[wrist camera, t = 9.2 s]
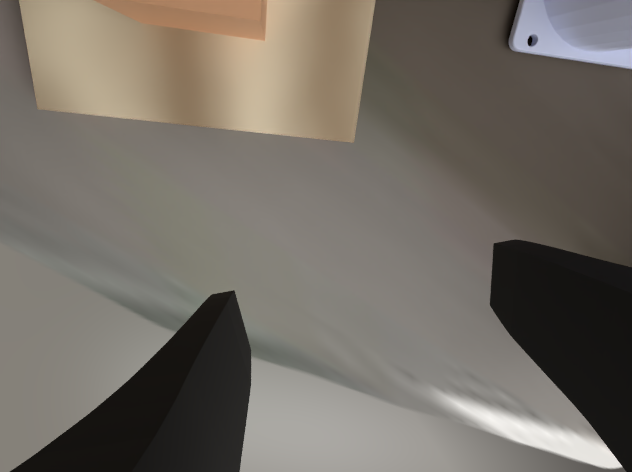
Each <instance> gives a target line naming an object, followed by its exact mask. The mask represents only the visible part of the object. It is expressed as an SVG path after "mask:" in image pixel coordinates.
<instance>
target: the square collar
mask: <svg viewBox="0 0 632 472" xmlns="http://www.w3.org/2000/svg"><path fill="white" fill-rule="evenodd" d="M94 1H96V2H98V3H100V4H102V5H104V6H107V7H109V8H111V9H113V10H115V11H117V12H119V13H121V14H123V15H125V16H128V17H130V18H132V19H134V20H136V21H138V22H140V23H144V24H151V25H158V26H165V27H172V28H179V29H186V30H192V31H199V32H206V33H213V34H220V35H227V36H234V37H241V38H248V39H255V40H262V41H265V33H266V15H267V0H94Z"/></svg>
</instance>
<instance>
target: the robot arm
mask: <svg viewBox="0 0 632 472" xmlns="http://www.w3.org/2000/svg"><path fill="white" fill-rule="evenodd" d="M529 36H531V37H532V44H531V45H530V46H528V43H527V41H528V38H529ZM509 47H510V48H511V50H513V51H516V52H522V53H529V54H536V55H542V56H549V57H555V58H562V59H568V60H575V61H581V62H588V63H594V64H601V65H607V66H614V67H620V68H627V69H632V0H520V2H519V5H518V9H517V12H516V16H515V19H514V23H513V26H512V30H511V33H510V37H509ZM490 306H491V308H492V309H493V311H494V312H495V314H496V315H497V317H498V318H499V320H500V321H501V323H502V324H503V326H504V327H505V328H506V330H507V331H508V332H509V334H510V335H511V336H512V337H513V339H514V340H515V341H516V342H517V343H518V344H519V345H520V346H521V348H522V349H523V350H524V351H525V352H526V353H527V354H528V355H529V356H530V358H531V359H532V360H533V361H534V362H535V363H536V364H537V365H538V366H539V367H540V368H541V370H542V371H543V372H544V373H545V374H546V375H547V376H548V377H549V378H550V379H551V380H552V381H553V383H554V384H555V385H556V386H557V387H558V388H559V389H560V390H561V391H562V392H563V393H564V394H565V396H566V397H567V398H568V399H569V400H570V401H571V402H572V403H573V404H574V405H575V407H576V408H577V409H578V410H579V411H580V412H581V414H582V415H583V416H584V417H585V418H586V419H587V421H588V422H589V423H590V424H591V426H592V427H593V428H594V430H595V431H596V432H597V434H598V435H599V436H600V437H601V439H602V440H603V441H604V443H605V444H606V445H607V447H608V448H609V449H610V451H611V452H612V453H613V454H614V456H615V457H616V458H617V460H618V461H619V462H620V464H621V465H622V466H623V468H624V469H625V470H626V472H632V268H631V267H627V266H623V265H619V264H615V263H611V262H607V261H603V260H599V259H596V258H592V257H588V256H584V255H580V254H577V253H573V252H569V251H565V250H561V249H557V248H554V247H550V246H546V245H541V244H537V243H532V242H528V241H522V240H510V241H505V242H499V243H494V248H493V264H492V280H491V296H490ZM250 387H251V348H250V345H249V341H248V337H247V334H246V330H245V327H244V323H243V320H242V316H241V312H240V309H239V305H238V302H237V298H236V295H235V291H228V292H223V293H217V294H212V295H211V296H210V297H209V298H208V299H207V300H206V301H205V302H204V303H203V304H202V305H201V306H200V307H199V308H198V309H197V311H196V312H195V313H194V314H193V315H192V316H191V317H190V318H189V319H188V321H187V322H186V323H185V324H184V325H183V326H182V327H181V328H180V329H179V330H178V331H177V332H176V334H175V335H174V336H173V337H172V338H171V339H170V340H169V341H168V342H167V343H166V344H165V345H164V346H163V347H162V348H161V349H160V350H159V351H158V352H157V353H156V354H155V355H154V356H153V357H152V358H151V359H150V360H149V361H148V362H147V363H146V364H145V365H144V366H143V367H142V368H141V369H140V370H139V371H138V372H137V373H136V374H135V375H134V376H133V377H131V379H130V380H128V381H127V382H126V383H125V384H124V385H123V386H122V387H120V388H119V389H118V390H117V391H116V392H115V393H113V394H112V395H111V396H110V397H109V398H107V399H106V400H105V401H104V402H103V403H101V404H100V405H99V406H98V407H97V408H96V409H94V410H93V411H92V412H91V413H90V414H88V415H87V416H86V417H84V418H83V419H82V420H80V421H79V422H78V423H76V424H75V425H74V426H72V427H71V428H70V429H68V430H67V431H66V432H64V433H63V434H62V435H60V436H59V437H58V438H56V439H55V440H54V441H52V442H51V443H50V444H48V445H47V446H46V447H44V448H43V449H42V450H40V451H39V452H38V453H36V454H35V455H34V456H32V457H31V458H29V459H28V460H26V461H25V462H24V463H22V464H21V465H19V466H18V467H16V468H15V469H13V470H12V471H10V472H239V470H240V463H241V456H242V448H243V441H244V433H245V426H246V418H247V411H248V403H249V396H250Z"/></svg>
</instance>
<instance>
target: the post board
mask: <svg viewBox="0 0 632 472" xmlns="http://www.w3.org/2000/svg"><path fill="white" fill-rule="evenodd" d="M19 3H20V9H21V15H22V21H23V26H24V32H25V38H26V44H27V50H28V56H29V62H30V67H31V73H32V79H33V85H34V91H35V97H36V102H37V108H38V109H41V110H51V111H60V112H70V113H79V114H88V115H98V116H107V117H117V118H126V119H135V120H145V121H154V122H164V123H173V124H183V125H192V126H201V127H211V128H220V129H230V130H239V131H248V132H258V133H267V134H277V135H286V136H295V137H305V138H314V139H324V140H333V141H343V142H352V143H354V137H355V131H356V124H357V118H358V111H359V105H360V98H361V91H362V85H363V78H364V72H365V65H366V59H367V52H368V45H369V39H370V32H371V26H372V19H373V13H374V6H375V0H267V15H266V33H265V41H262V40H255V39H248V38H241V37H234V36H227V35H220V34H213V33H206V32H199V31H192V30H186V29H179V28H172V27H165V26H158V25H151V24H144V23H140V22H138V21H136V20H134V19H132V18H130V17H128V16H125V15H123V14H121V13H119V12H117V11H115V10H113V9H111V8H109V7H107V6H104V5H102V4H100V3H98V2H96V1H94V0H19Z"/></svg>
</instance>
